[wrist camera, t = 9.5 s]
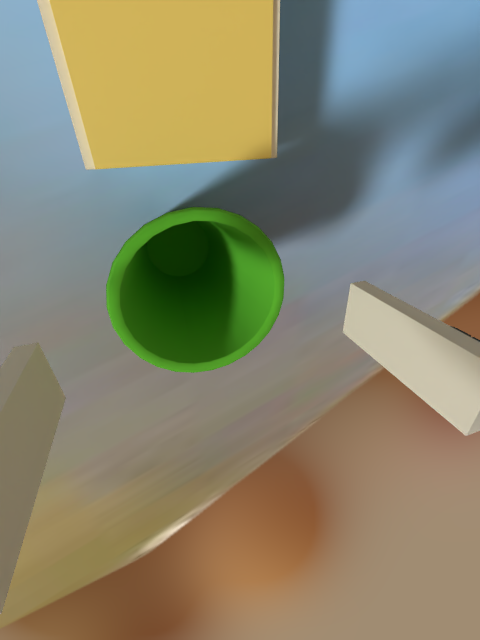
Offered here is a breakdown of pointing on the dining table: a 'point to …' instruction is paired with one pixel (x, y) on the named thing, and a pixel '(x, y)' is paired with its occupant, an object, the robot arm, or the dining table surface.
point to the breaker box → (168, 78)
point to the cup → (195, 289)
